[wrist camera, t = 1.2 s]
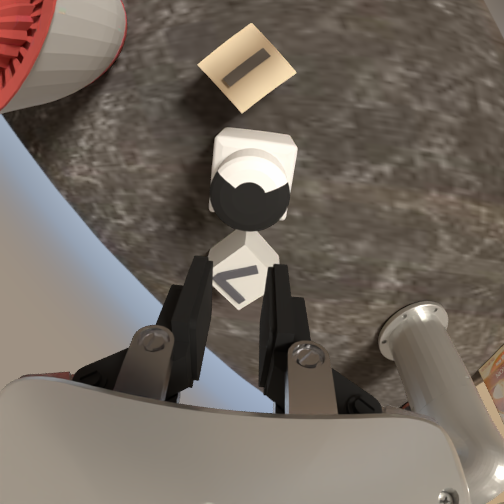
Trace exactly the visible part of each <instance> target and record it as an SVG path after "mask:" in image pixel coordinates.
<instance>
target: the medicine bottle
mask: <svg viewBox="0 0 504 504" xmlns="http://www.w3.org/2000/svg"><path fill="white" fill-rule="evenodd" d="M297 150H298V149H297V146H296V145H295V143H294V141H293V140H292V138H291V137H290V135H286V134H279V133H272V132H265V131H257V130H249V129H240V128H230V127H226V128H224V129H223V130H222V131H221V132H220V133H219V134H218V135H217V136H216V137H215V140H214V150H213V162H212V173H211V185H210V199H209V210H210V211H211V212H215V213H216V215H217V216H218V217H219V218H220V219H221V220H222V221H223V222H224V223H225V224H227V225H228V226H230V227H232V228H234V229H237V230H241V231H248V232H253V231H260V230H264V229H266V228H268V227H270V226H272V225H274V224H275V223H276V222H278V221H279V220H284V219H285V218H286V213H287V208H288V205H289V200H290V191H291V185H292V179H293V174H294V168H295V162H296V156H297Z"/></svg>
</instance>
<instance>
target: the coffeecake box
mask: <svg viewBox="0 0 504 504" xmlns="http://www.w3.org/2000/svg"><path fill="white" fill-rule="evenodd" d="M478 371H479V373H480V375H481V377H482V379H483V381H484V383H485V384H486V387H487V389H488V391H489V393H490V395H491V397H492V399H493V401H494V404H495V406H496V408H497V410H498V413H499V415H500V417H501V419H502V422H503V424H504V345H503V346H502V347H501V348H500V349H499V350H498V351H497V352H496V353H495V354H494V355H493V356H492V357H491V358H490V359H489V360H488V361H487V362H486V363H485V364H484V365H483V366H482V367H481V368H480V369H479V370H478Z"/></svg>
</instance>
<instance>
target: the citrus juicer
mask: <svg viewBox="0 0 504 504" xmlns="http://www.w3.org/2000/svg"><path fill="white" fill-rule="evenodd" d="M126 34H127V16H126V12H125V8H124V5H123V3H122V1H121V0H0V114H2V113H6V112H10V111H14V110H18V109H23V108H27V107H32V106H36V105H41V104H45V103H49V102H52V101H55V100H58V99H61V98H63V97H66V96H68V95H70V94H73V93H75V92H76V91H78V90H80V89H82V88H84V87H86V86H88V85H89V84H91V83H93V82H94V81H95V80H96V79H98V78H99V77H100V76H101V75H103V74H104V73H105V72H106V71H107V69H108V68H109V67H110V66H111V65H112V64H113V63H114V61H115V60H116V59H117V57H118V56H119V54H120V52H121V50H122V48H123V45H124V42H125V39H126Z"/></svg>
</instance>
